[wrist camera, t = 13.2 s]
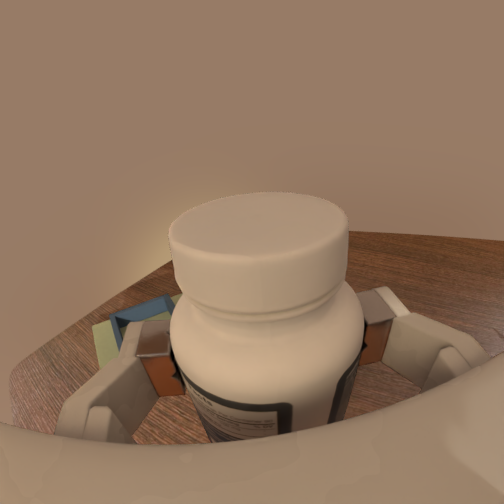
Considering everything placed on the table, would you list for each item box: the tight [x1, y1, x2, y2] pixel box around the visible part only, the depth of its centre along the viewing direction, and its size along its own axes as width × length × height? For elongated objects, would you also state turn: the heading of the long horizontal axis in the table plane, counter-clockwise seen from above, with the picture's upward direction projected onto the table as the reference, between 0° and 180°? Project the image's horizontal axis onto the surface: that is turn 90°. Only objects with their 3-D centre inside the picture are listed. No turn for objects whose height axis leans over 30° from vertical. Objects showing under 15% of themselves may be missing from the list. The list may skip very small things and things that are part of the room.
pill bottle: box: [168, 192, 364, 443], centre depth 8 cm, size 5×5×9 cm
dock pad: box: [92, 293, 183, 369], centre depth 31 cm, size 14×12×3 cm
